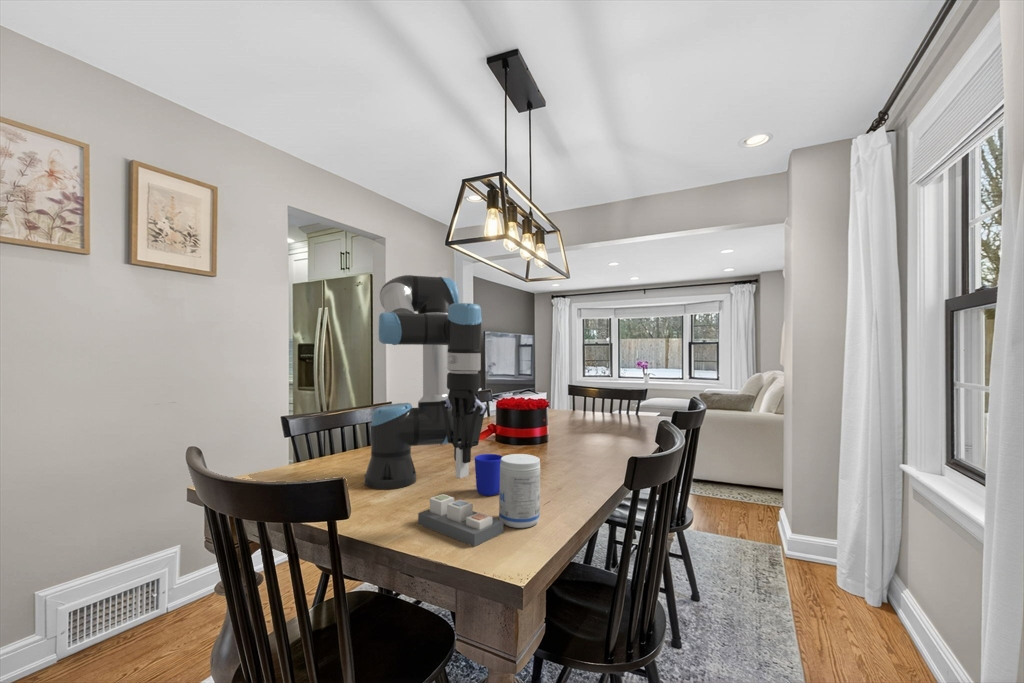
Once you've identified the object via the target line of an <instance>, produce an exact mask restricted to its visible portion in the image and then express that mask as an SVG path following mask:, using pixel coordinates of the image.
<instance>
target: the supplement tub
mask: <svg viewBox="0 0 1024 683" xmlns="http://www.w3.org/2000/svg"><path fill="white" fill-rule="evenodd" d="M502 456H503V457H502V458H501V463H500V492H499V493H498V495H499V496H498V497H499V498H498V499H499V500H498V501H499V503H498V504H499V505H498V506H499V508H498V509H499V510H498V518H499V519H498V520H501V521H503V525H505V526H507V527H510V528H515V529H525V528H530V527H534V526H536V525H537V524H538V523H539V521H540V514H541V513H540V511H541V510H540V509H541V507H540V506H541V503H540V502H541V462H540V461H541V460H540V458H539V457H537V456H535V455H533V454H526V453H511V454H506V455H502Z"/></svg>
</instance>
